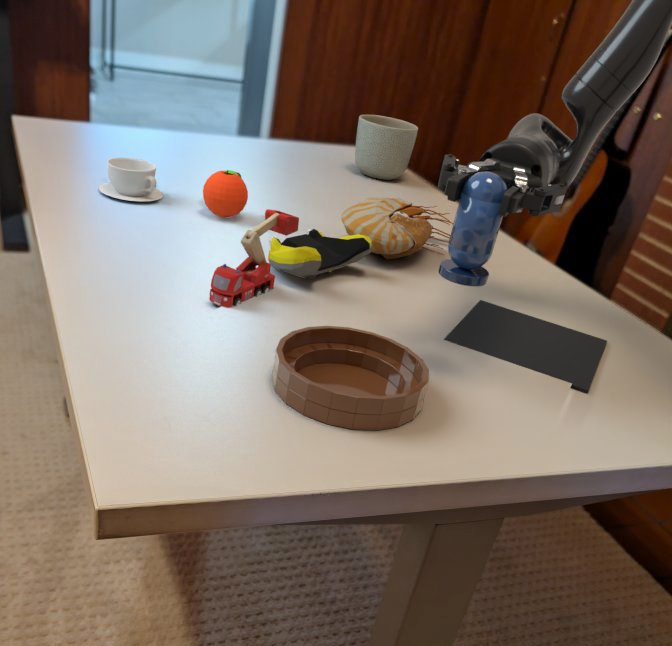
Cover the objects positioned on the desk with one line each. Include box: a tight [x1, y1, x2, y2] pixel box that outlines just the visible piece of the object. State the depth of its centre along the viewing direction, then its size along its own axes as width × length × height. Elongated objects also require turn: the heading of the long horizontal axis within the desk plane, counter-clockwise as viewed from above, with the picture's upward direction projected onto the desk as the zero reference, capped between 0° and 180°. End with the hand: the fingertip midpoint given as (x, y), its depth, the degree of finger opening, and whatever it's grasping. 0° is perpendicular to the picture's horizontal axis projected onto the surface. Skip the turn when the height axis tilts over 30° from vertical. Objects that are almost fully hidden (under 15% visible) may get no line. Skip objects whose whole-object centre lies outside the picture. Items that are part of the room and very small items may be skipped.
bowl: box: [271, 325, 430, 431], centre depth 75 cm, size 15×15×4 cm
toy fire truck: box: [209, 208, 300, 309], centre depth 91 cm, size 3×14×10 cm, turn 151°
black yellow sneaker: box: [267, 228, 372, 280], centre depth 103 cm, size 15×6×10 cm
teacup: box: [97, 157, 164, 202], centre depth 119 cm, size 10×10×5 cm
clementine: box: [202, 169, 249, 219], centre depth 117 cm, size 8×7×7 cm
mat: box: [443, 299, 608, 394], centre depth 96 cm, size 18×18×1 cm
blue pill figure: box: [438, 171, 508, 288], centre depth 77 cm, size 5×5×11 cm
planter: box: [354, 114, 419, 181], centre depth 158 cm, size 12×12×11 cm
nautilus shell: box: [340, 196, 454, 261], centre depth 116 cm, size 8×22×15 cm
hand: (478, 197), depth 73 cm, fingers closed on blue pill figure, 4 cm apart
